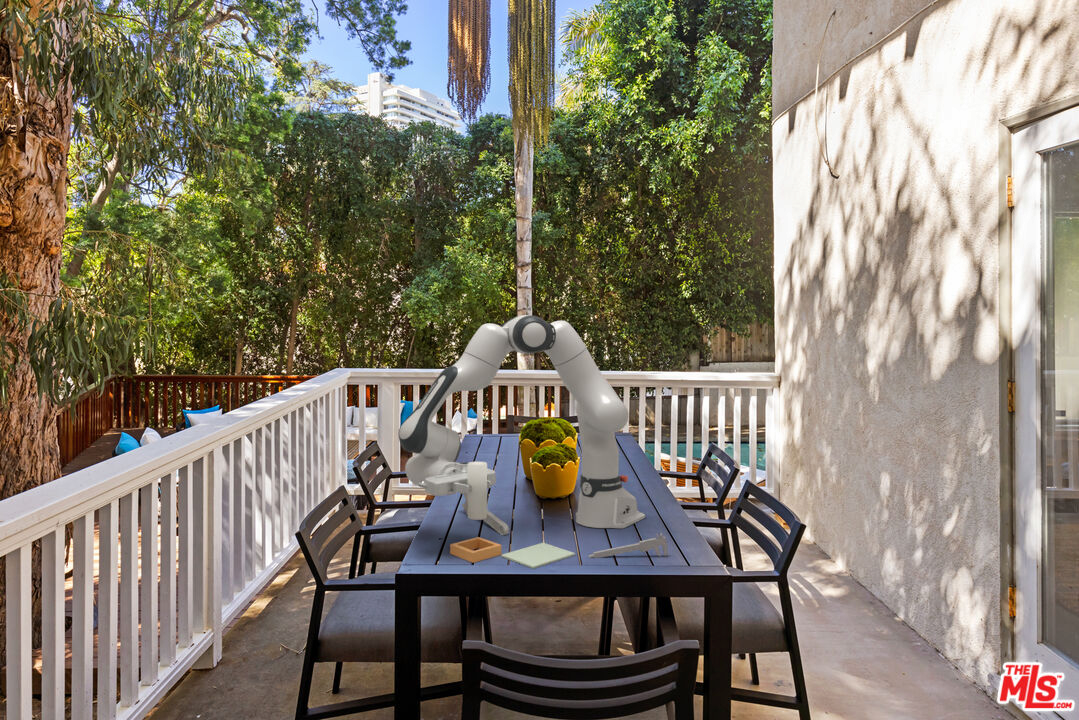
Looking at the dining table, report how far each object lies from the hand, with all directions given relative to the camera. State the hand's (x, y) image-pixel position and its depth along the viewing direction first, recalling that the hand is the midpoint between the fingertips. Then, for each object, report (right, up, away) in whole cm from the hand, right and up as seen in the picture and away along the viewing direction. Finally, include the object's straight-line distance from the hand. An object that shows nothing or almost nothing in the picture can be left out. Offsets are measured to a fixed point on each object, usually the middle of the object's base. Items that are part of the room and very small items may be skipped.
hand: (479, 486), depth 186 cm
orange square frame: (-1, -18, +2) cm, 18 cm away
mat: (+15, -18, +1) cm, 23 cm away
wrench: (-2, -16, +31) cm, 35 cm away
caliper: (+38, -19, +1) cm, 43 cm away
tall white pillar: (-1, -8, +1) cm, 8 cm away
